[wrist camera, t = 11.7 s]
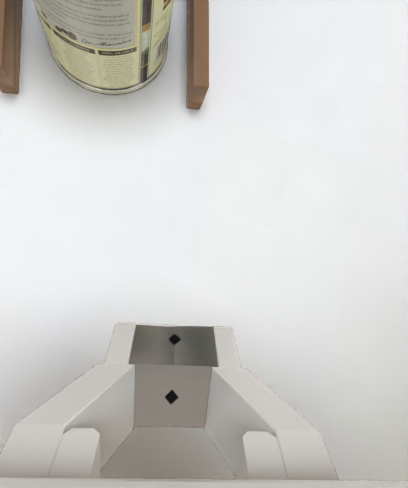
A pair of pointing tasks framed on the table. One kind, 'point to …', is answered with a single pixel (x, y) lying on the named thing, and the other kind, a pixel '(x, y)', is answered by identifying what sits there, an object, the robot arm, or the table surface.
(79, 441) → the robot arm
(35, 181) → the table surface
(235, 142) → the table surface
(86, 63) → the coffee can
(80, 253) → the table surface
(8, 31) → the caddy
